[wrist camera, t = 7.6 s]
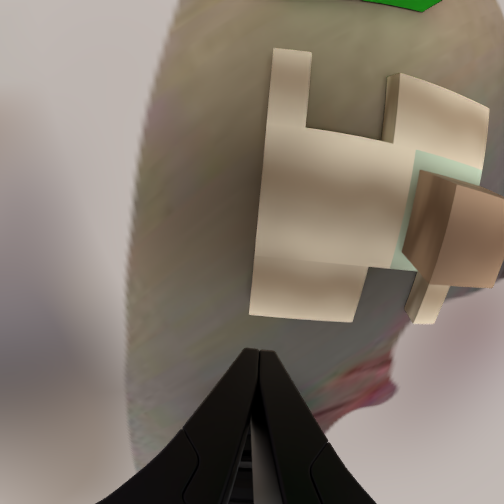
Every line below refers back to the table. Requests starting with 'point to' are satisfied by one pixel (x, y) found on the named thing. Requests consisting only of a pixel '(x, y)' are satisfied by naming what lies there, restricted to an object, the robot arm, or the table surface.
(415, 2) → the puzzle cube
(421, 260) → the block
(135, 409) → the table surface
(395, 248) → the beige flat notched plate
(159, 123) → the table surface
